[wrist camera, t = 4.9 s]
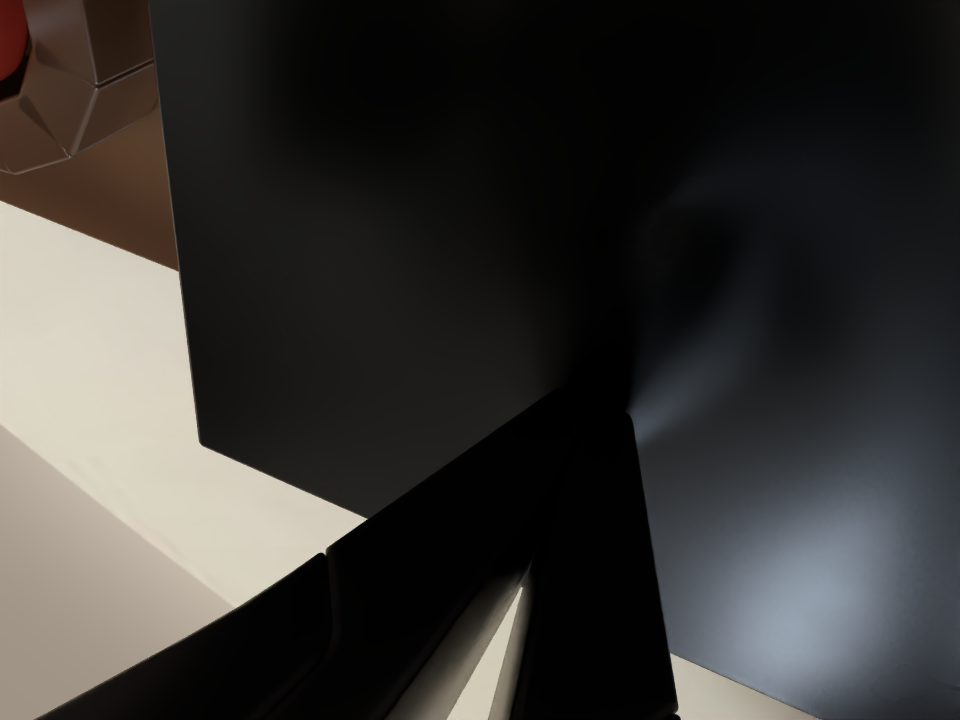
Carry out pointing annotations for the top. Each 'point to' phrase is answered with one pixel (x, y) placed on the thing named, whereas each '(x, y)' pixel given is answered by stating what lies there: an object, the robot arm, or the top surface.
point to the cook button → (12, 36)
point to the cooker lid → (605, 286)
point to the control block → (88, 126)
